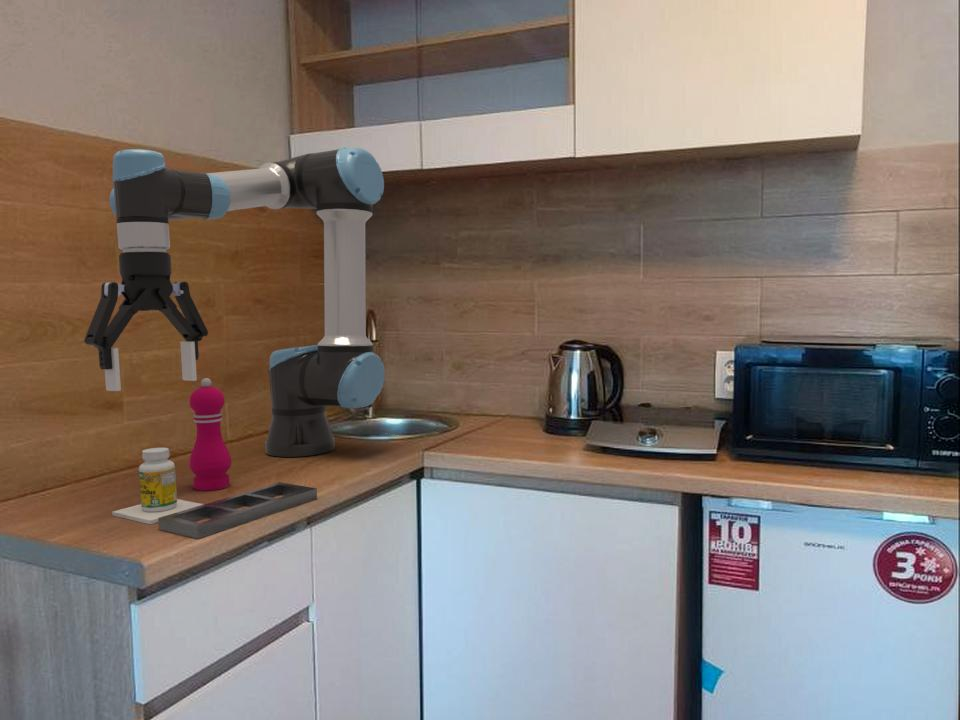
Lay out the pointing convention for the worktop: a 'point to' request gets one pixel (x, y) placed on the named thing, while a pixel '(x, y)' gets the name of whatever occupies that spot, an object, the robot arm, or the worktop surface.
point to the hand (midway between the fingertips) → (153, 385)
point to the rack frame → (230, 516)
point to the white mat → (152, 517)
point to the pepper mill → (209, 439)
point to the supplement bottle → (157, 481)
